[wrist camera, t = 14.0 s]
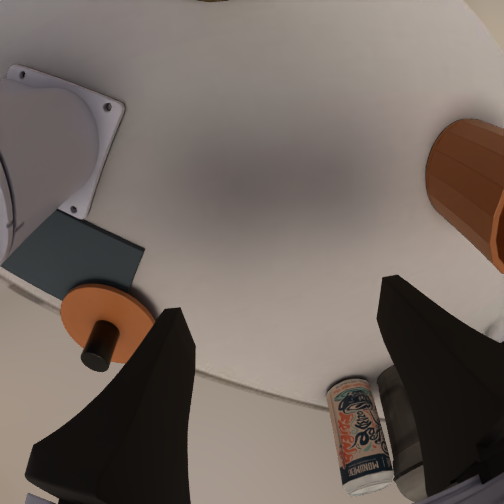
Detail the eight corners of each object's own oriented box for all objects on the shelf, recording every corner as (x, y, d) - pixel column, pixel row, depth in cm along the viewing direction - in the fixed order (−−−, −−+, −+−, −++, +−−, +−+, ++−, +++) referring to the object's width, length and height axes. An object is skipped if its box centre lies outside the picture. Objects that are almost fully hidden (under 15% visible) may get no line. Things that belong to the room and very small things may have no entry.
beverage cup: (432, 368, 30) (490, 514, 13) (380, 400, 32) (422, 545, 15) (413, 344, 27) (486, 523, 10) (353, 381, 29) (399, 559, 12)
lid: (49, 306, 22) (28, 344, 18) (103, 259, 20) (78, 301, 16) (118, 364, 26) (107, 403, 22) (181, 332, 23) (174, 378, 20)
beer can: (372, 371, 28) (403, 476, 18) (364, 395, 31) (387, 489, 21) (327, 378, 28) (349, 489, 18) (323, 402, 31) (339, 500, 21)
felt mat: (-22, 248, 19) (-24, 251, 19) (-18, 167, 16) (-21, 169, 15) (116, 322, 23) (115, 326, 23) (145, 249, 20) (143, 252, 20)
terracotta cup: (405, 184, 18) (469, 238, 12) (463, 95, 15) (541, 118, 9) (463, 236, 20) (516, 291, 14) (512, 162, 17) (575, 200, 11)
